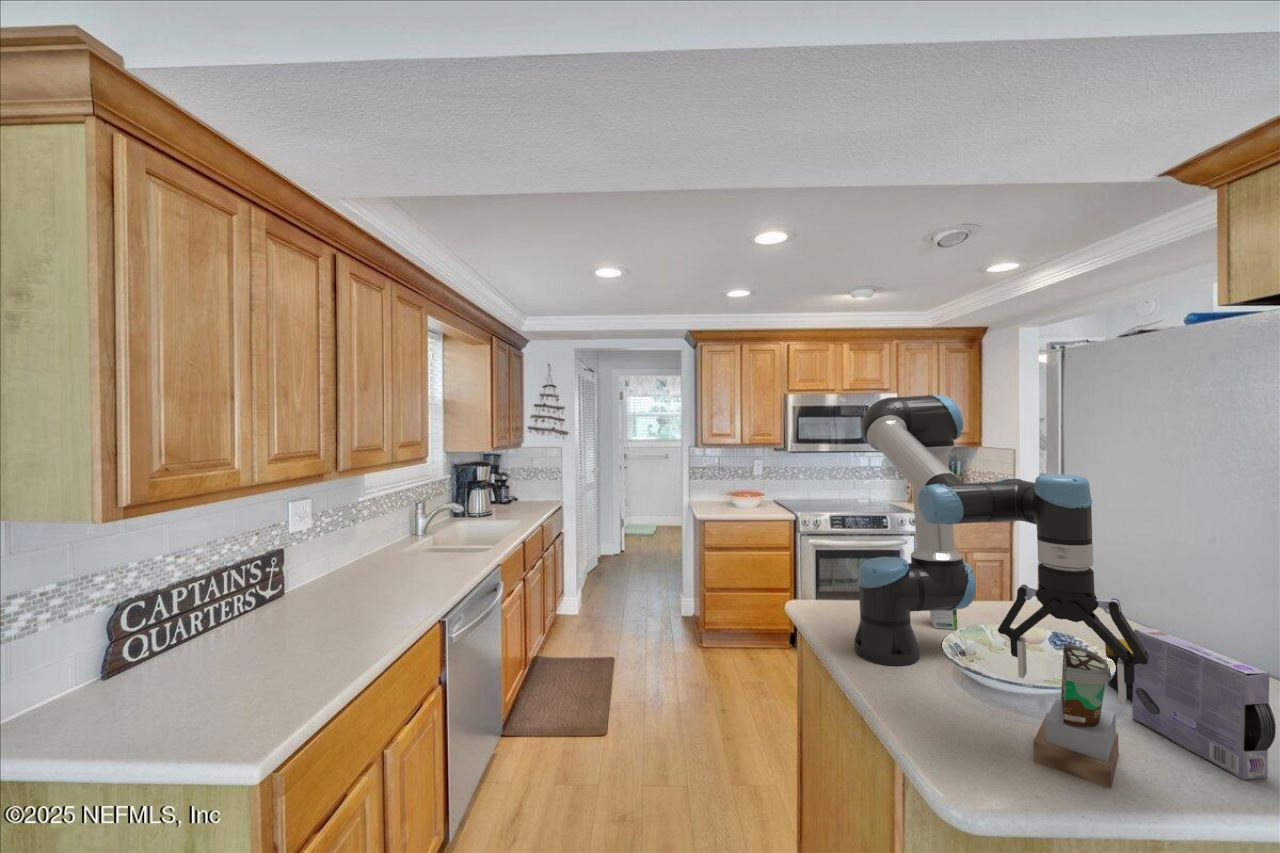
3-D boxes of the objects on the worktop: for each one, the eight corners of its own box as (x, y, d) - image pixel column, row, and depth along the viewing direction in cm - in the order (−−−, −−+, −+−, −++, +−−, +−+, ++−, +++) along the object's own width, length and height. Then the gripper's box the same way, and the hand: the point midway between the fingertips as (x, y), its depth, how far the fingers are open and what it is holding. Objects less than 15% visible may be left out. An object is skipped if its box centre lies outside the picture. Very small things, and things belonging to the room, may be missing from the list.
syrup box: (934, 628, 150) (932, 576, 150) (929, 620, 156) (927, 570, 155) (957, 630, 148) (955, 577, 148) (952, 622, 154) (949, 571, 154)
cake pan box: (1280, 783, 85) (1276, 671, 85) (1252, 786, 85) (1248, 674, 84) (1154, 716, 104) (1150, 625, 104) (1130, 719, 104) (1126, 627, 103)
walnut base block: (1034, 764, 93) (1033, 741, 93) (1047, 733, 101) (1046, 712, 101) (1111, 791, 86) (1110, 766, 86) (1118, 755, 94) (1117, 733, 94)
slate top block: (1046, 741, 93) (1045, 718, 92) (1058, 718, 99) (1057, 696, 99) (1107, 762, 87) (1106, 737, 87) (1116, 735, 93) (1115, 712, 93)
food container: (1112, 741, 86) (1116, 680, 85) (1063, 727, 89) (1066, 668, 89) (1104, 706, 96) (1108, 651, 95) (1060, 694, 99) (1063, 641, 99)
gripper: (976, 558, 99) (981, 673, 100) (1164, 584, 81) (1170, 723, 82) (987, 550, 105) (992, 659, 105) (1167, 572, 87) (1172, 703, 87)
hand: (1070, 687), depth 93 cm, fingers open, 13 cm apart
